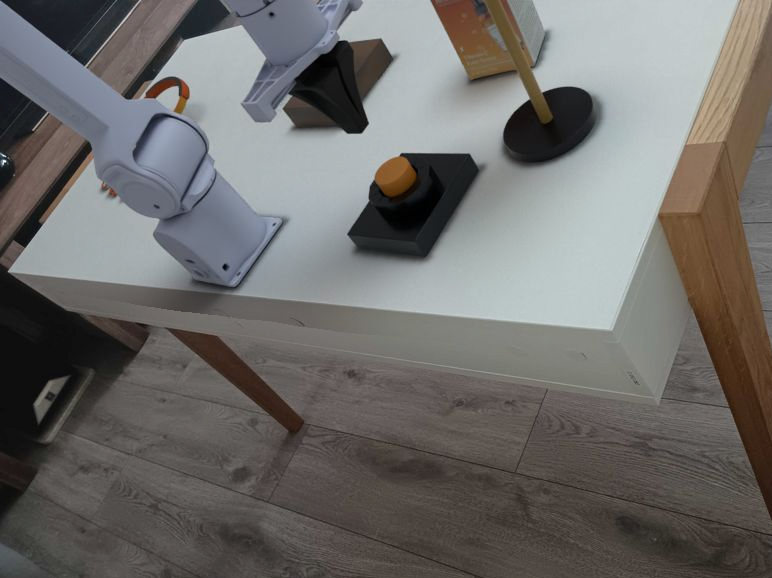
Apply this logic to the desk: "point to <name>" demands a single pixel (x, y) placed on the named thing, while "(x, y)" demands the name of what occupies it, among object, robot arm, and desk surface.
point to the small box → (489, 34)
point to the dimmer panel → (368, 69)
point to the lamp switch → (395, 176)
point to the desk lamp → (541, 107)
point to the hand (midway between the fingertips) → (358, 128)
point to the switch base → (415, 205)
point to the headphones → (158, 89)
